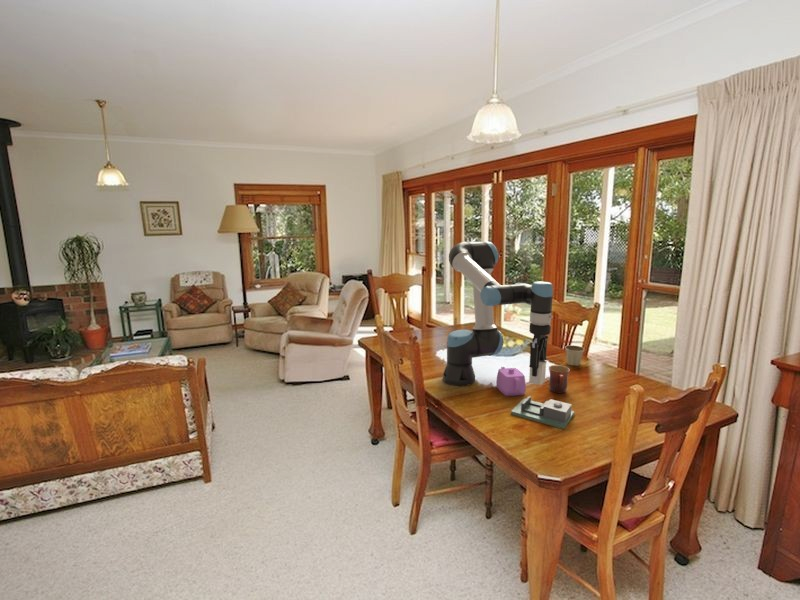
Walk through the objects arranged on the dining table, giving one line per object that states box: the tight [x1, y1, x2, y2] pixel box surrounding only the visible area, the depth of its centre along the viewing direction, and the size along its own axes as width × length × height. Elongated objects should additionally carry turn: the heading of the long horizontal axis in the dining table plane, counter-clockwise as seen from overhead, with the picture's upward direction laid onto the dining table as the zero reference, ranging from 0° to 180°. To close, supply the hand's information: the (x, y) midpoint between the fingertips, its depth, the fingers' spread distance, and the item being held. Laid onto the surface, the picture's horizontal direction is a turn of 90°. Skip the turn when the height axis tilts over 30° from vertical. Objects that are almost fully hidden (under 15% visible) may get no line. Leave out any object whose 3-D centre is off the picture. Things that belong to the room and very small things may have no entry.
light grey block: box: [528, 360, 547, 386], centre depth 159 cm, size 5×5×8 cm
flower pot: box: [564, 344, 585, 367], centre depth 213 cm, size 9×9×9 cm
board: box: [510, 395, 575, 430], centre depth 160 cm, size 20×14×6 cm
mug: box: [548, 364, 571, 394], centre depth 179 cm, size 12×9×10 cm
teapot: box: [495, 366, 527, 397], centre depth 182 cm, size 18×10×10 cm, turn 8°
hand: (537, 381), depth 159 cm, fingers closed on light grey block, 5 cm apart
